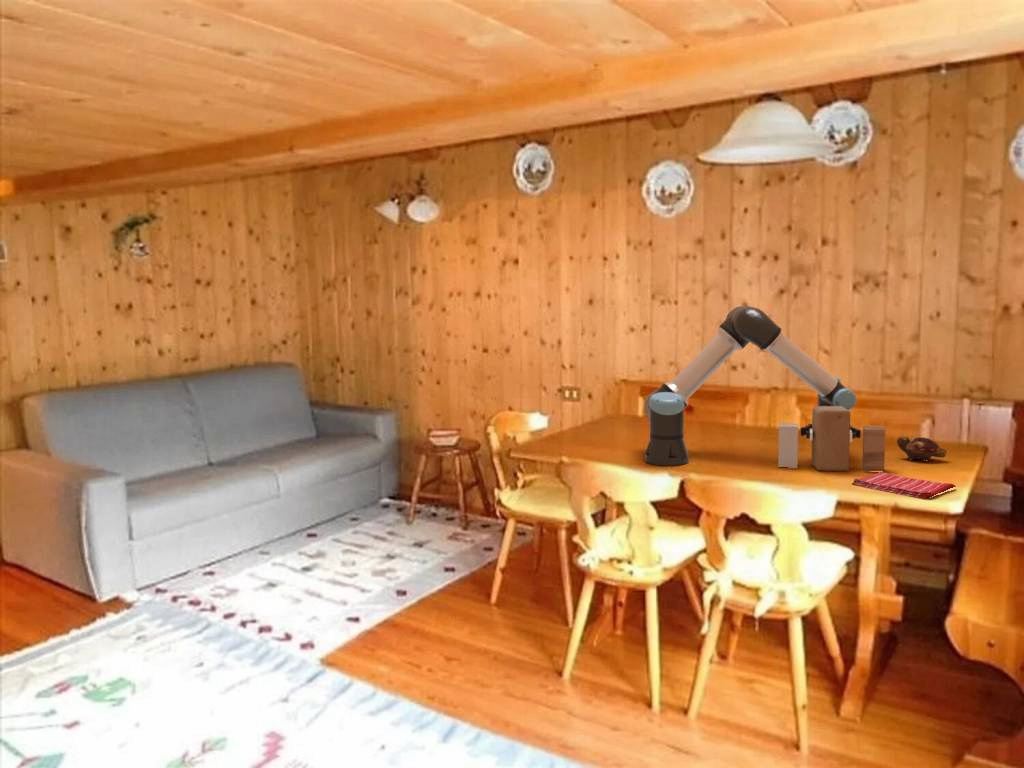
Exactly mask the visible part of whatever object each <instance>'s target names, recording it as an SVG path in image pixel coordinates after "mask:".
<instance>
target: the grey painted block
mask: <svg viewBox="0 0 1024 768" xmlns="http://www.w3.org/2000/svg"><path fill="white" fill-rule="evenodd" d="M777 454H778V460H777V461H778V462H777V463H778V464H777V467H788V468H787V469H795V468H797V469H798V466H799V465H798V462H799V460H798V459H799V456H798V455H799V423H792V422H791V423H789V422H788V423H787V422H785V423H784V422H783V423H782V422H779V423H778V453H777ZM797 465H798V466H797Z"/></svg>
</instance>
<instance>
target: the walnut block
mask: <svg viewBox="0 0 1024 768" xmlns="http://www.w3.org/2000/svg"><path fill="white" fill-rule="evenodd" d="M885 447H886V428H885V426H883V425H882V426H881V425H880V426H879V425H878V426H877V425H863V429H862V461H861V462H862V464H861V465H862V466H861V467H863V468H862V472H863V471H884V472H885V453H886V452H885V451H886V450H885V449H886V448H885Z"/></svg>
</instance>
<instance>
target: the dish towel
mask: <svg viewBox="0 0 1024 768" xmlns="http://www.w3.org/2000/svg"><path fill="white" fill-rule="evenodd" d="M851 485H854V486H858V487H863V488H866V489H867V488H868V489H872V490H876V491H881V492H887V493H891V494H896V495H900V494H901V496H906V497H910V498H911V497H912V498H916V499H921V500H930V499H931V498H930V497H932V496H934V495H936V494H938V493H941V492H944V491H946V490H948V489H950V488H953V487H956V485H955V484H954V483H951V482H950V483H949V482H948V483H947V482H938V481H931V480H925V479H919V478H913V477H906V476H900V475H895V474H891V473H888V472H884V473H883V472H880V473H874V474H871V475H867V476H864V477H862V478H854V479H853V482H852V483H851ZM956 488H957V487H956ZM929 498H930V499H929Z"/></svg>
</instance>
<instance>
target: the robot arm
mask: <svg viewBox="0 0 1024 768" xmlns="http://www.w3.org/2000/svg"><path fill="white" fill-rule="evenodd" d="M750 343H751V344H753V345H755V346H756V347H757V348H758V349H760V350H761V351H767V352H768V353H769V354H770V355H771V356H772V357H774V358H776V359H777V360H778V361H779V362H780V363H781V364H782V365H783V366H785V367H786V368H787V369H788V370H790V371H791V373H793V374H794V375H795V376H796V377H797V378H799V379H800V380H801V381H802V382H804V383H805V384H806V385H808V387H809V388H811V389H812V390H813V391H815V392H816V393H817V406H842V407H844V408H846V409H847V410H849V411H850V410H852V409H853V408H854V407H855V405H856V404H857V397H856V396H857V395H856V394H855V392H854V391H852V390H851V389H850V388H848V387H846V386H845V385H844V384H842V383H841V378H840V377H838V376H833V375H832V374H830V372H828V371H827V370H826V369H825V368H823V367H822V366H821V365H820V364H819V363H818V362H816V360H814V359H813V358H812V357H810V356H809V355H808V354H807V353H806V352H805V351H803V349H801V348H800V347H799V346H797V344H795V343H794V342H793V341H791V339H789V338H788V337H787V336H786V335H784V334H783V329H782V328H781V327H780V326H779V325H778V324H776V323H775V321H773V319H772V318H770V317H769V315H768V314H766V313H765V312H764V311H763V310H762V309H761V308H757V307H754V306H749V305H740V306H737V307H734V308H733V309H731V310H730V311H729V312H728V314H727V316H726V317H725V320H724V321H723V322H722V323H721V324H720V325H719V326H718V327H717V334H716V335H715V336H714V337H713V338H712V339H711V340H710V341H709V342H708V343H707V344H706V345H705V346H704V347H703V348H702V350H700V351H699V352H698V354H697V355H696V356H695V357H694V358H693V359H692V360H691V361H690V362H688V364H687V365H686V366H685V367H684V368H683V369H682V370H681V371H680V372H679V373H678V374H677V375H676V376H675V377H674V378H673V379H672V380H671V381H666V382H665V381H664V383H662V385H660V386H659V388H657V389H656V390H655V391H653V392H651V393H650V394H649V395H648V396H647V397H646V399H645V402H644V413H645V416H646V418H648V419H649V441H648V444H647V447H646V450H645V452H644V461H645V462H646V463H648V464H650V465H654V466H655V465H656V466H666V467H667V466H669V467H670V466H680V465H686V464H687V463H689V461H690V457H689V452H688V449H687V446H686V442H685V436H684V435H685V434H684V433H685V431H684V429H685V428H684V422H685V421H684V420H685V419H684V417H685V416H684V415H685V414H684V413H685V412H684V410H685V408H686V407H687V406H689V398H690V397H691V396H693V394H694V393H695V392H697V390H698V389H699V388H700V387H702V385H703V384H704V383H705V382H706V381H707V380H708V379H709V378H710V377H711V376H712V375H713V373H715V372H716V371H717V369H719V368H720V366H722V364H724V362H726V360H727V359H728V358H729V357H730V356H731V355H733V353H735V351H740V350H741V351H742V350H743V349H745V347H746V346H747V345H749V344H750ZM861 432H862V431H861V429H859V428H857V427H854V426H852V425H851V424H850V443H853V439H856V438H857V439H860V438H861V437H862V435H861ZM800 436H802V437H804V436H805V439H809V442H810V441H811V442H812V436H813V431H812V423H808V424H807V425H805V426H802V427H800Z"/></svg>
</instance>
